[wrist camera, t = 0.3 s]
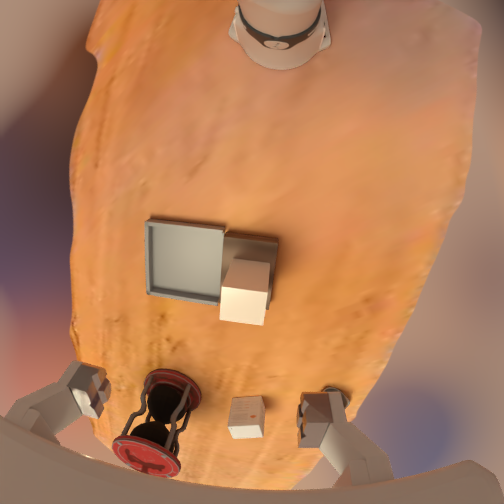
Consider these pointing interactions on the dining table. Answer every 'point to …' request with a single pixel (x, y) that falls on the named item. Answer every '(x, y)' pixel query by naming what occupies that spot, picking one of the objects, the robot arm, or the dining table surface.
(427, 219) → the dining table surface
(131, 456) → the hourglass
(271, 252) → the brown flat block
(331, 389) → the ceramic mug
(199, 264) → the gray tray
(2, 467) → the robot arm
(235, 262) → the cream block
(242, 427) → the small box
